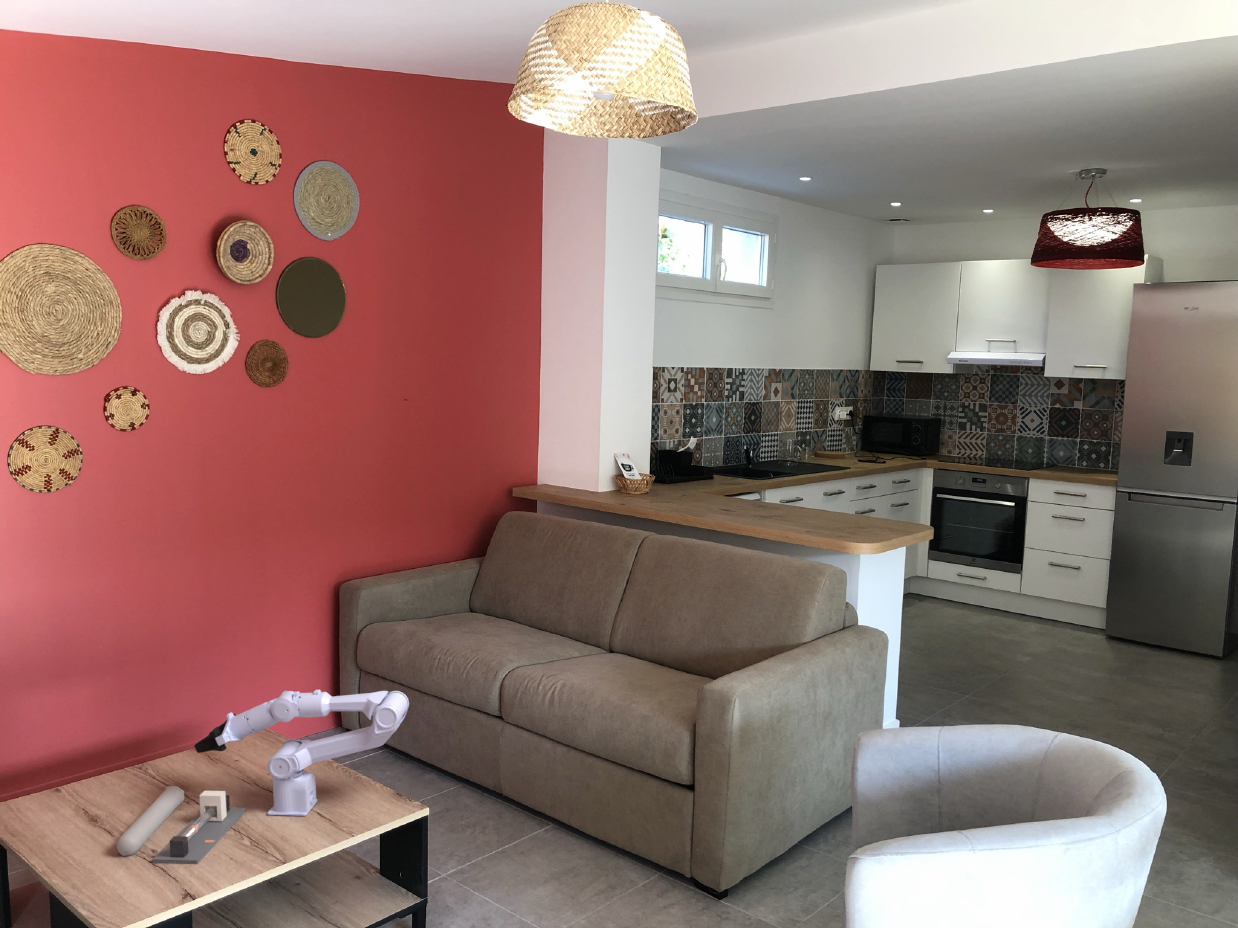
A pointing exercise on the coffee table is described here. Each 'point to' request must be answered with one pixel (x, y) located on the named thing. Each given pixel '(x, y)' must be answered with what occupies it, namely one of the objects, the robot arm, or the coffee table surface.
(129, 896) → the coffee table surface
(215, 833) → the rod board
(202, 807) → the collar
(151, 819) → the tube
